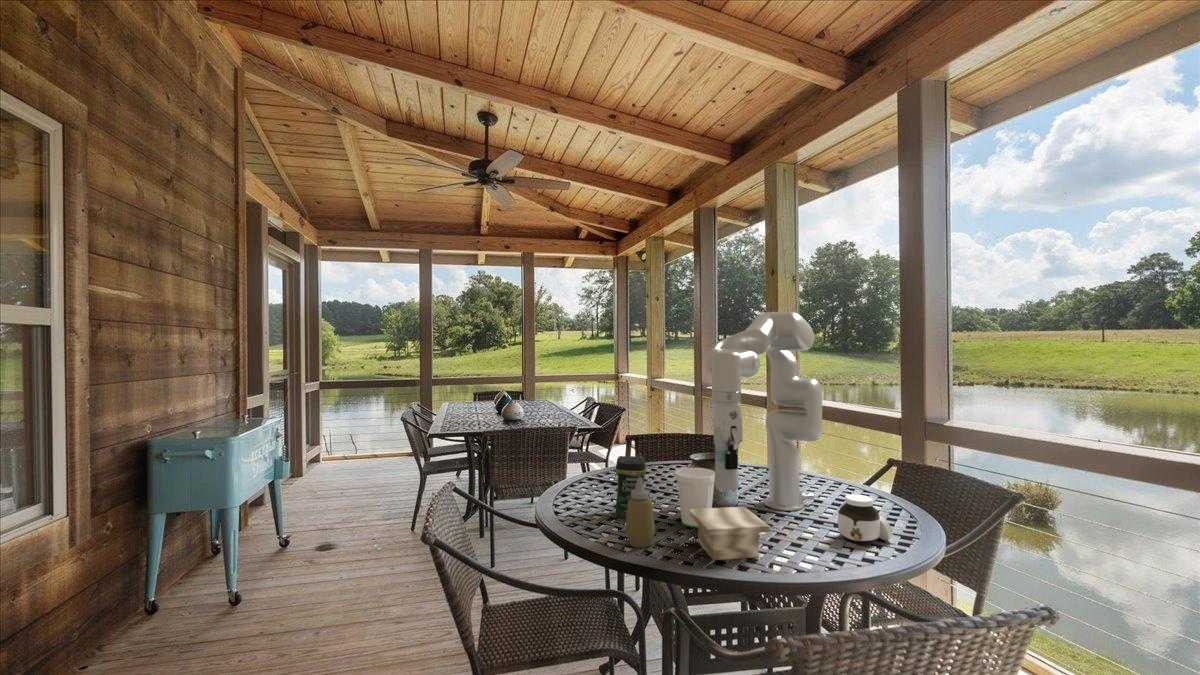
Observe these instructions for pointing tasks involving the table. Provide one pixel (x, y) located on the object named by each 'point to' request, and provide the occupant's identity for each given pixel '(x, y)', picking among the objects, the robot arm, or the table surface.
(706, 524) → the stand
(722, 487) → the bottle
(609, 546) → the table surface
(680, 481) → the cup
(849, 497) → the spread jar
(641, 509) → the squeeze bottle
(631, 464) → the coffee jar
